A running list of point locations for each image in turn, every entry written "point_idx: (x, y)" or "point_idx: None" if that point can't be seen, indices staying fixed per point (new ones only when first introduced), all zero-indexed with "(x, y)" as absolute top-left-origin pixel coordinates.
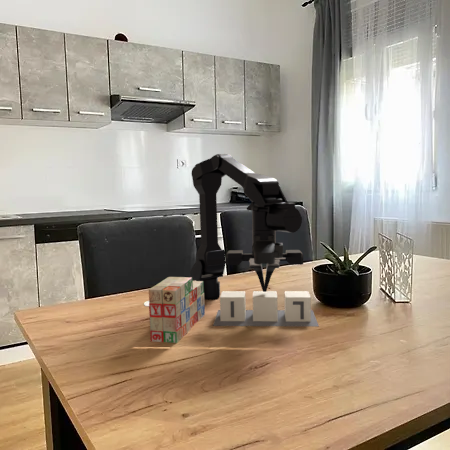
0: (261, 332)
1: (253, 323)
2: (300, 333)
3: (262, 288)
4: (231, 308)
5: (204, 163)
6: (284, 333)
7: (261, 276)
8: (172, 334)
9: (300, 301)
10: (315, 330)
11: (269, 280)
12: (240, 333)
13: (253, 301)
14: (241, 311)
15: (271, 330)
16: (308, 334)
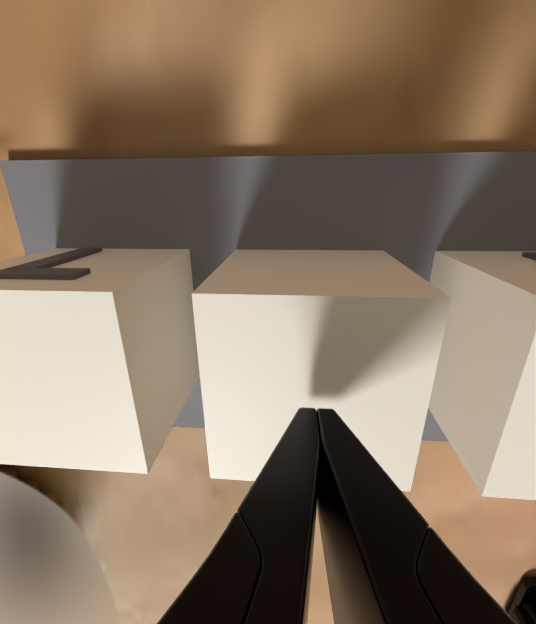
0: (342, 49)
1: (385, 205)
2: (95, 43)
3: (344, 426)
4: None
5: None
6: (192, 36)
7: (407, 582)
8: None
9: (11, 273)
10: (19, 114)
11: (247, 499)
12: (496, 12)
13: (425, 285)
14: (491, 264)
15: (275, 100)
16: (45, 24)
